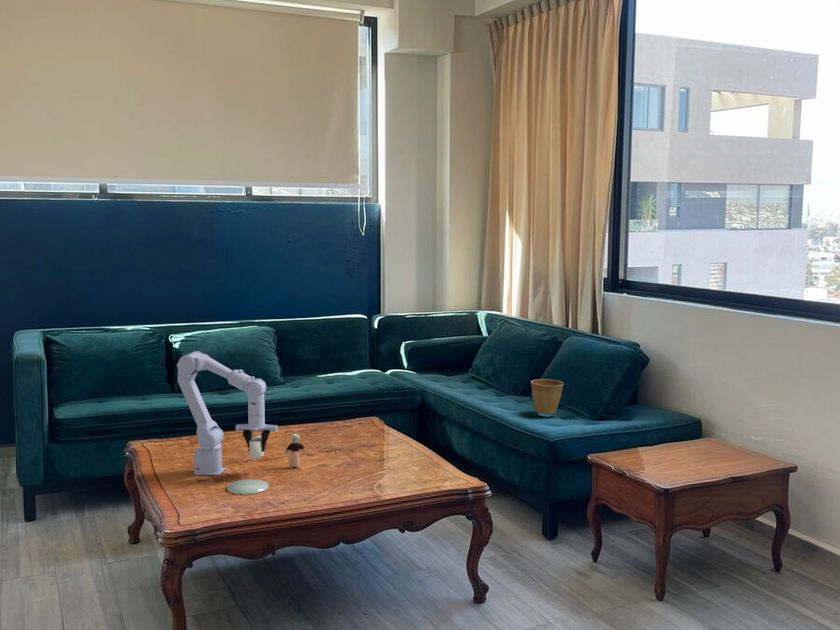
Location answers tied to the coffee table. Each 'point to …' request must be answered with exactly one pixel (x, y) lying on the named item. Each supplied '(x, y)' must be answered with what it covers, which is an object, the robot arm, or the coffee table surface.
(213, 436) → the robot arm
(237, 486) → the sage plate
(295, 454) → the grandmother figurine
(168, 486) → the coffee table surface
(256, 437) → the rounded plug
